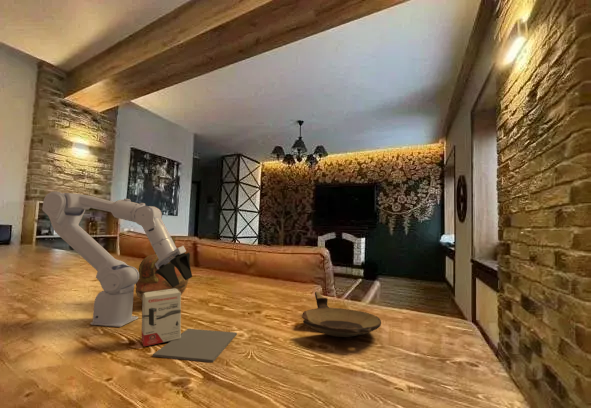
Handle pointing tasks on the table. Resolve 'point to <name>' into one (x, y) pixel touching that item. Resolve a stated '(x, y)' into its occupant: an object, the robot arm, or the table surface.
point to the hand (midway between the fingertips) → (182, 282)
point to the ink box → (161, 316)
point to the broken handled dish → (339, 320)
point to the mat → (197, 345)
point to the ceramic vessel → (155, 277)
